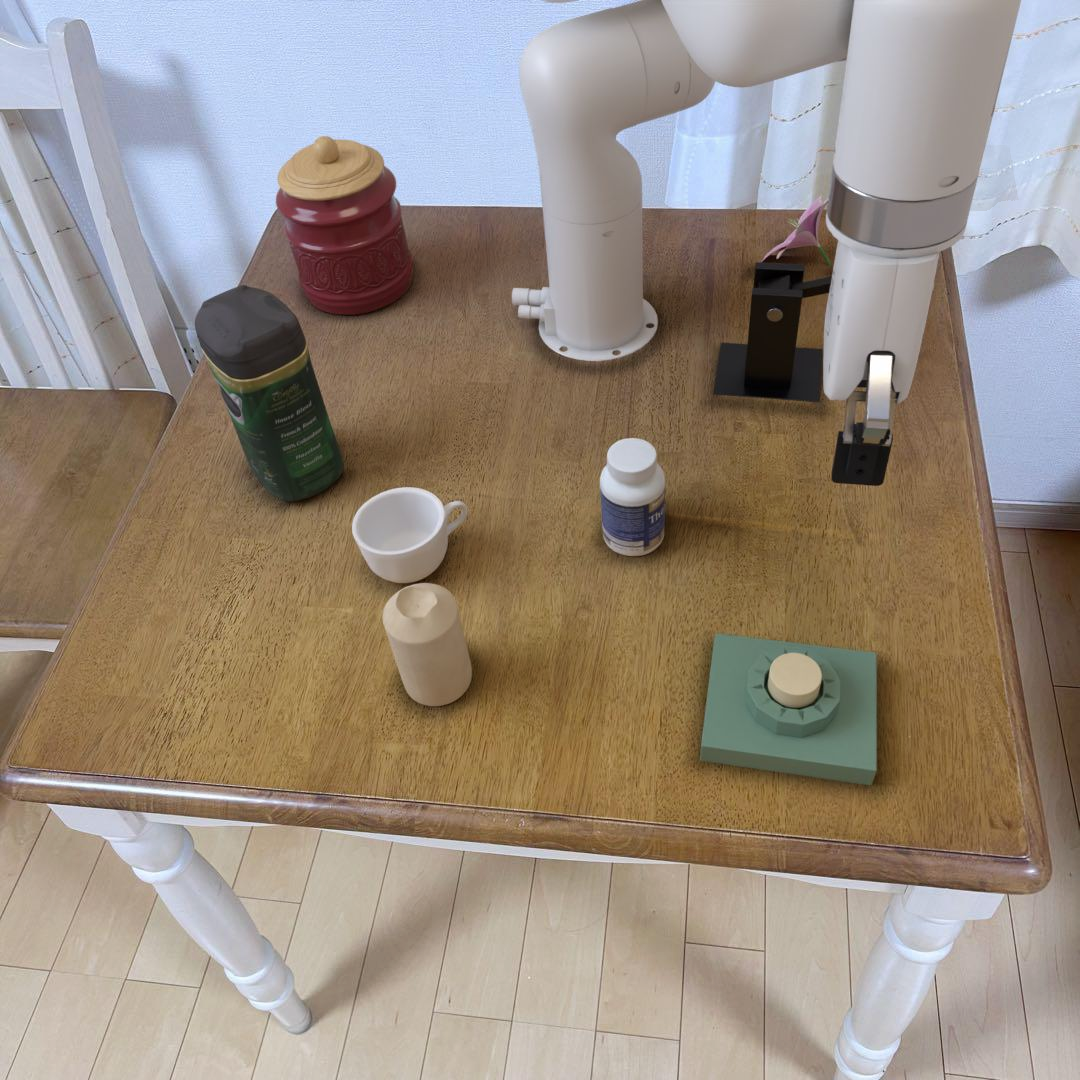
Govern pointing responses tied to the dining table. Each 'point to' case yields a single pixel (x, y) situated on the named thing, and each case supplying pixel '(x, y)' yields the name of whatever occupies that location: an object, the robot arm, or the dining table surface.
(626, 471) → the pill bottle
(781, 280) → the lever
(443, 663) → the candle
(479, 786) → the dining table surface
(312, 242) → the kitchen canister
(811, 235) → the lily
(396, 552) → the teacup
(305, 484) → the coffee jar
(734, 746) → the button box
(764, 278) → the bracket
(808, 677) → the button
